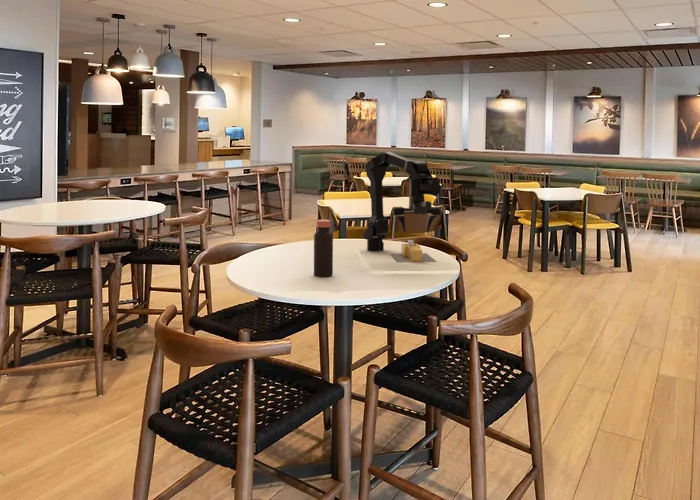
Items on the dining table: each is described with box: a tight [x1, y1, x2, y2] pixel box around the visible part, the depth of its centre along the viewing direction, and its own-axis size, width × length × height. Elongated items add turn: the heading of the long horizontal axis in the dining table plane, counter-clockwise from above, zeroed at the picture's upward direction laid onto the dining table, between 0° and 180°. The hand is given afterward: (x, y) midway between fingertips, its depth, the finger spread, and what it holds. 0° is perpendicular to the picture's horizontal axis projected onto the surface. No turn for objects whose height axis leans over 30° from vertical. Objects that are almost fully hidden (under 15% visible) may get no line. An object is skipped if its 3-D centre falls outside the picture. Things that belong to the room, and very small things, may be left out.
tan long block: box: [400, 243, 423, 263], centre depth 249 cm, size 15×6×4 cm, turn 6°
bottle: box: [313, 219, 334, 278], centre depth 220 cm, size 7×7×20 cm
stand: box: [389, 239, 438, 263], centre depth 250 cm, size 16×18×8 cm
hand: (415, 232), depth 244 cm, fingers open, 9 cm apart
